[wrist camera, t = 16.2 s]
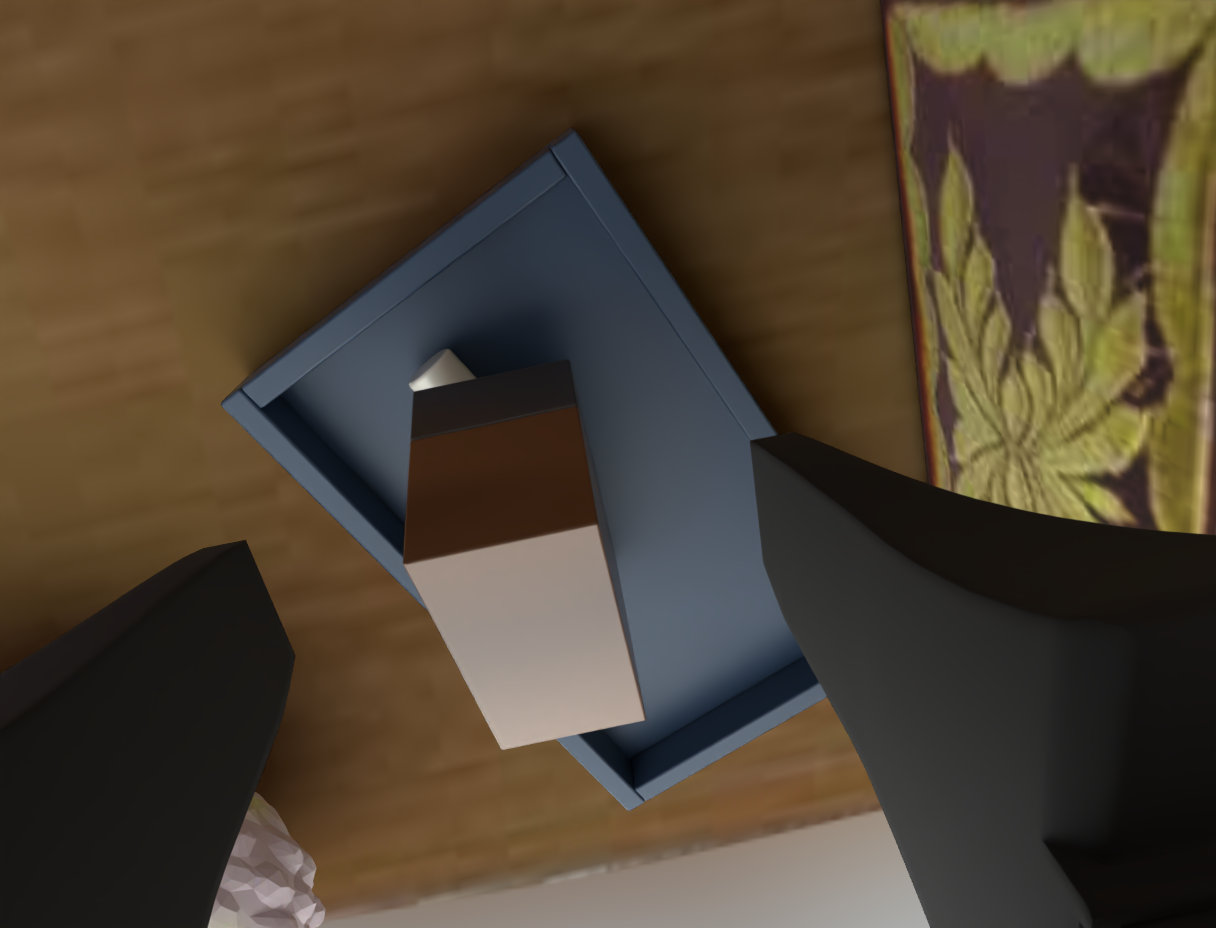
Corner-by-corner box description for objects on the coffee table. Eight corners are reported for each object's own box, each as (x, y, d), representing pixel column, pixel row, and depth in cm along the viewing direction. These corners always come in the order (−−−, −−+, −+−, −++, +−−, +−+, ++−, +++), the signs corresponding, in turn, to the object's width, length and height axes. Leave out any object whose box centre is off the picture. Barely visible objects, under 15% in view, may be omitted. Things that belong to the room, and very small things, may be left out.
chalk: (523, 443, 19) (491, 480, 19) (435, 350, 18) (399, 387, 18) (547, 441, 18) (513, 480, 18) (455, 342, 17) (418, 381, 17)
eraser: (616, 560, 21) (646, 721, 17) (494, 585, 21) (501, 750, 17) (569, 357, 16) (598, 523, 13) (411, 390, 16) (401, 564, 13)
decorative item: (340, 1085, 21) (-146, 1479, 13) (103, 895, 27) (-359, 1078, 18) (410, 757, 21) (-37, 922, 12) (157, 629, 26) (-286, 681, 17)
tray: (622, 764, 24) (628, 812, 23) (246, 377, 18) (217, 404, 17) (890, 605, 23) (918, 645, 21) (571, 126, 17) (575, 128, 15)
